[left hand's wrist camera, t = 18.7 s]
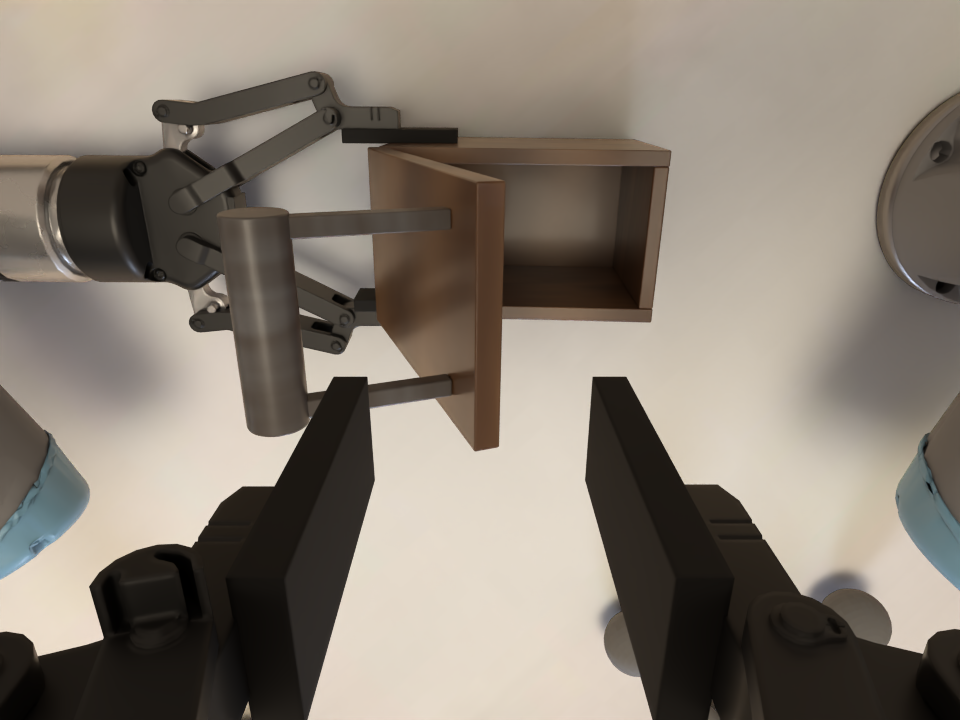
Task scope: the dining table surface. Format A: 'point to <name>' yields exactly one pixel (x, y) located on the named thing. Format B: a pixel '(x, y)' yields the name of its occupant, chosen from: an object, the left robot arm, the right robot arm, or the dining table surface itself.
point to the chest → (571, 221)
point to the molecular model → (848, 603)
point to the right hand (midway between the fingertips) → (457, 221)
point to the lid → (381, 294)
